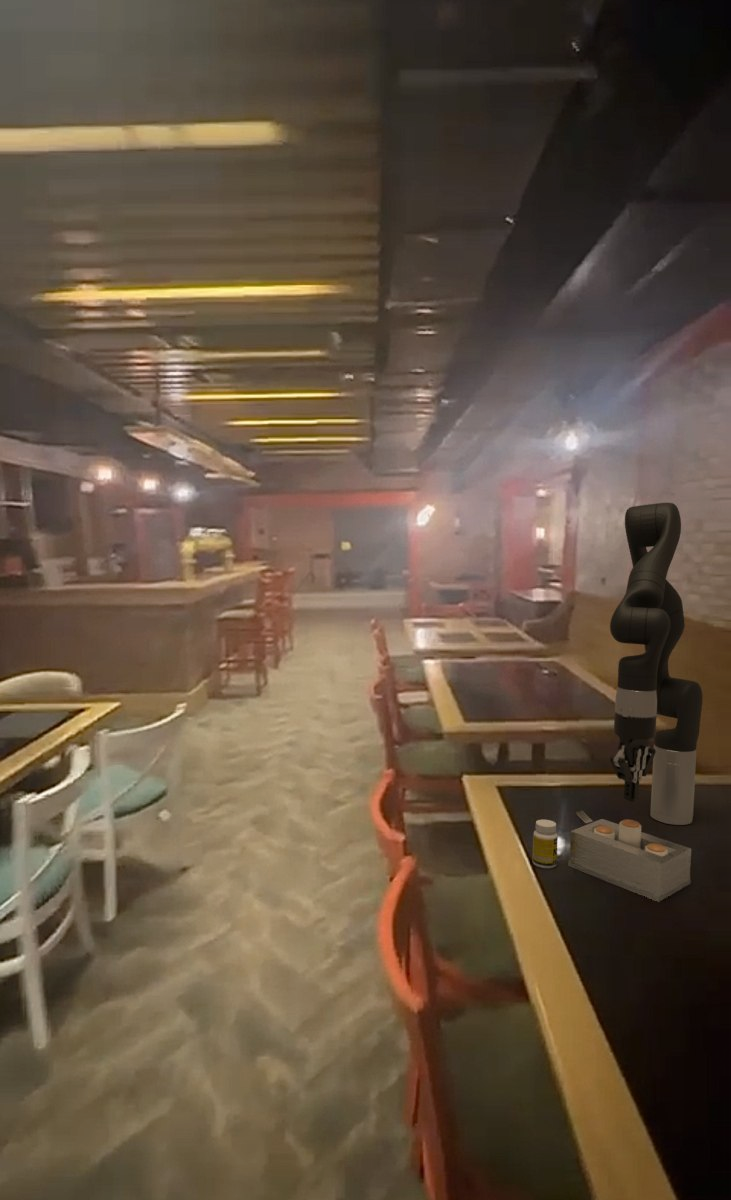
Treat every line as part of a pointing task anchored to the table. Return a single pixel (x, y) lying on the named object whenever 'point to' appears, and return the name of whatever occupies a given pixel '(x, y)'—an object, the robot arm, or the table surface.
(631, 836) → the knob
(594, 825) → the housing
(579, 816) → the fork
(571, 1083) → the table surface
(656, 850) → the knob
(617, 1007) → the table surface
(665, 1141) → the table surface
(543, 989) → the table surface
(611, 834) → the knob
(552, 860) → the supplement bottle
